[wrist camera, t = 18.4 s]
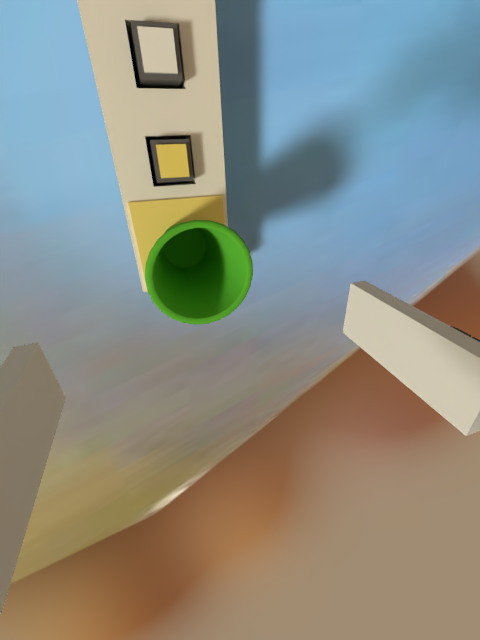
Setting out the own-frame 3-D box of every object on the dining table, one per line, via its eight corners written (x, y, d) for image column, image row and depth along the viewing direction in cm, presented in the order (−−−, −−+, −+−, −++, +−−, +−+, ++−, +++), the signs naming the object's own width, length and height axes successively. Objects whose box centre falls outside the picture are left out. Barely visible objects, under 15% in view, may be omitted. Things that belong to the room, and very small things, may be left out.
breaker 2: (148, 143, 31) (150, 139, 26) (181, 142, 32) (189, 138, 27) (154, 180, 33) (157, 183, 28) (185, 178, 34) (194, 180, 29)
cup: (227, 211, 32) (263, 229, 23) (215, 285, 36) (242, 326, 27) (144, 196, 29) (148, 210, 20) (140, 279, 33) (142, 324, 24)
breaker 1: (132, 46, 27) (130, 18, 22) (169, 48, 28) (177, 22, 23) (140, 93, 29) (140, 78, 24) (175, 94, 30) (183, 79, 25)
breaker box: (82, 4, 25) (70, -30, 21) (203, 14, 28) (215, -14, 24) (142, 278, 38) (143, 292, 34) (221, 267, 41) (231, 279, 36)
